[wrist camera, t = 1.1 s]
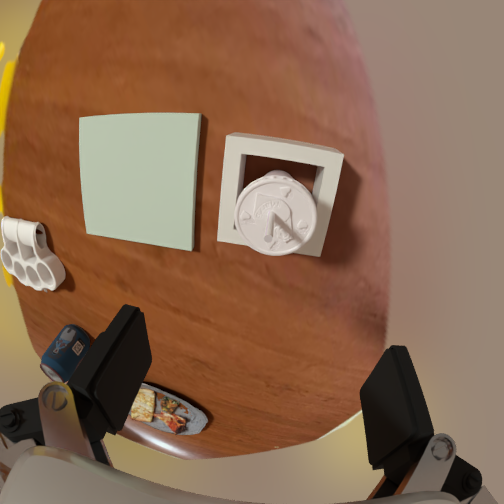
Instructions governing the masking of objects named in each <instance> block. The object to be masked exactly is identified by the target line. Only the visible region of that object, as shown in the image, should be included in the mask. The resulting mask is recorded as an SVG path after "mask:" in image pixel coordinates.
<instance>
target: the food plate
mask: <svg viewBox="0 0 504 504" xmlns="http://www.w3.org/2000/svg"><path fill="white" fill-rule="evenodd" d="M155 391H156V392H159V393H162V394H165V395H166V396H164V397H163V399H160V401H158V399H157V396H156V395H157V394H156V392H155ZM167 396H168V397H167ZM170 397H171V398H170ZM172 398H173V399H172ZM174 399H175V400H177V401H179V402H180V403H182V405H185V407H187V408H188V409H187V410H188V411H189V412H190V411H191V412H190V413H191V414H190V413H188V414H186V415H185V413H184V411H186V410H181V409H179V406H178V405H179V402H177V401H175V400H174ZM177 406H178V407H177ZM158 411H159V412H158ZM129 415H130V416H131V419H132V420H137V421H141V422H142V423H145V424H147V425H149V426H151V427H153V428H155V429H158V430H161V431H164V432H168V433H173V434H175V435H177V434H178V435H189V434H190V435H193V434H196V433H200V431H201V430H202V429H203V428H204V426H205V425H206V424H207V422H208V419H207V417H206V416H205V414H204V413H203V412H202V411H200V410H199V409H197V408H194V407H193V406H192V405H190V404H189V403H187V402H186V401H183V400H182V399H180V398H178V397H176V396H175V395H174V396H173V395H171V394H169V393H167V392H164V391H162V390H161V389H160V390H159V389H157V388H155V387H152V386H149V385H147V384H144V383H142V385H141V387H140V389H139V392H138V394H137V396H136V398H135V400H134V403H133V405H132V407H131V410H130V412H129ZM191 415H192V416H191Z"/></svg>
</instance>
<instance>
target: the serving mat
mask: <svg viewBox="0 0 504 504" xmlns="http://www.w3.org/2000/svg"><path fill="white" fill-rule="evenodd" d="M201 115H202V114H197V113H130V114H113V115H100V116H90V117H82V118H80V119H79V153H80V175H81V188H82V199H83V208H84V217H85V224H86V231H87V233H88V234H93V235H99V236H105V237H111V238H117V239H123V240H129V241H134V242H140V243H146V244H152V245H158V246H164V247H170V248H176V249H182V250H189V251H192V249H193V248H194V224H195V199H196V180H197V164H198V150H199V137H200V126H201Z"/></svg>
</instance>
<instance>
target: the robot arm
mask: <svg viewBox="0 0 504 504" xmlns="http://www.w3.org/2000/svg"><path fill="white" fill-rule="evenodd" d="M151 362H152V355H151V350H150V345H149V340H148V335H147V329H146V323H145V317H144V313H143V312H141V311H140V308H138V307H134V306H131V305H127V304H125V305H123V306H122V308H121V309H120V311H119V312H118V313H117V315H116V316H115V318H114V319H113V320H112V322H111V323H110V325H109V326H108V328H107V329H106V331H105V332H102V333H100V334H99V336H98V337H97V338H96V340H95V341H94V343H93V344H92V346H91V347H90V349H89V350H88V352H87V353H86V355H85V356H84V358H83V359H82V361H81V362H80V364H79V365H78V367H77V368H76V370H75V372H74V373H73V375H72V376H71V378H70V379H69V381H68V383H67V384H65V383H63V382H59V381H52V382H50V383H47V384H46V385H45V386H43V388H42V389H41V390H40V393H39V395H38V398H34V399H30V400H26V401H22V402H17V403H13V404H9V405H6V406H3V407H2V408H1V409H0V504H263V503H251V502H242V501H235V500H227V499H221V498H215V497H210V496H204V495H200V494H195V493H191V492H186V491H182V490H178V489H174V488H171V487H167V486H164V485H161V484H157V483H154V482H151V481H148V480H145V479H142V478H139V477H136V476H133V475H131V474H128V473H125V472H122V471H120V470H117V469H115V468H114V467H113V465H112V462H111V460H110V457H109V455H108V452H107V449H106V447H105V444H104V442H103V438H104V436H105V434H106V432H108V433H111V434H113V435H116V432H117V430H118V431H120V430H121V429H122V428H123V426H124V423H125V421H126V419H127V416H128V414H129V412H130V410H131V407H132V405H133V403H134V400H135V398H136V396H137V394H138V392H139V389H140V387H141V385H142V383H143V381H144V378H145V376H146V374H147V372H148V370H149V368H150V365H151ZM360 400H361V406H362V413H363V419H364V426H365V434H366V441H367V450H368V459H369V463H370V464H371V465H372V468H373V470H377V469H384V476H383V477H382V479H381V480H380V482H379V483H378V485H377V486H376V487H375V489H374V490H373V492H372V493H371V494H370V496H369V497H368V498H367V500H364V501H356V502H347V503H337V504H498V503H497V502H496V500H495V499H494V498H493V496H492V495H491V494H490V492H489V491H488V490H487V488H486V487H485V486H482V487H481V485H482V476H481V473H480V471H479V470H478V469H477V468H475V467H473V466H472V465H470V464H469V463H467V462H466V461H464V460H463V459H461V458H460V457H458V456H457V455H456V445H455V442H454V440H453V439H452V438H451V437H450V436H449V435H447V434H444V433H440V434H436V435H434V429H433V425H432V422H431V418H430V415H429V411H428V408H427V405H426V401H425V398H424V395H423V392H422V389H421V386H420V383H419V380H418V377H417V374H416V372H415V369H414V366H413V363H412V360H411V358H410V355H409V352H408V350H407V348H406V347H405V346H396V345H392V346H391V347H390V348H389V349H386V350H385V352H384V353H383V355H382V357H381V358H380V360H379V362H378V363H377V365H376V366H375V368H374V369H373V371H372V372H371V374H370V375H369V377H368V378H367V380H366V381H365V383H364V384H363V386H362V387H361V389H360Z"/></svg>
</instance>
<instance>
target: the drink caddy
mask: <svg viewBox="0 0 504 504" xmlns="http://www.w3.org/2000/svg"><path fill="white" fill-rule="evenodd" d="M247 154H249V155H256V156H264V157H270V158H277V159H283V160H290V161H295V162H301V163H307V164H312V165H317V171H316V176H315V181H314V187H313V192H312V197H313V199H314V202H315V204H316V210H317V224H316V228H315V231H314V233H313V235H312V237H311V239H310V240H309V241H308V242H307V243H306V244H305V245H304V246H303V247H302V248H300V249H299V250H297V251H295V252H293V253H298V254H305V255H311V256H317V257H320V256H321V252H322V248H323V244H324V240H325V236H326V233H327V229H328V225H329V220H330V216H331V212H332V208H333V204H334V199H335V195H336V191H337V186H338V181H339V177H340V172H341V167H342V162H343V157H344V154H343V153H341V152H340V151H338V150H337V149H335V148H331V147H326V146H322V145H317V144H311V143H306V142H301V141H295V140H289V139H283V138H276V137H269V136H262V135H254V134H246V133H237V132H234V133H232V134H229V135H227V136H226V144H225V154H224V164H223V175H222V186H221V198H220V210H219V223H218V237H217V241H222V242H228V243H235V244H241V245H247V244H246V243H245V242H244V241H243V240H242V238H241V237H240V235H239V234H238V232H237V229H236V226H235V221H234V211H235V207H236V204H237V200H238V197H239V196H240V194H241V193H242V190H243V182H244V173H245V164H246V156H247Z"/></svg>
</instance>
